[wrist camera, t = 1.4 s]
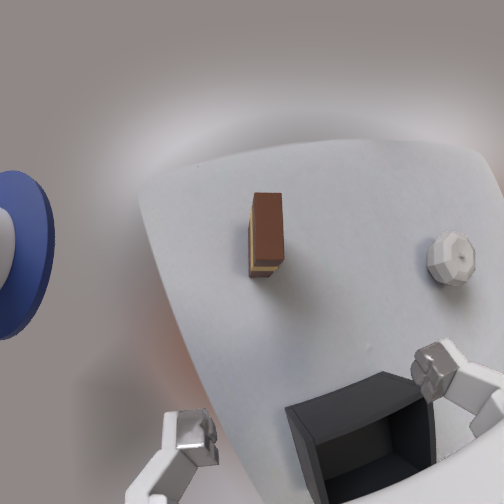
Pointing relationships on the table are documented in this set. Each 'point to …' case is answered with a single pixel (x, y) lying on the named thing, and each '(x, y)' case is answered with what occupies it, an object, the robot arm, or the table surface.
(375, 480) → the waste bin
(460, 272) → the apple
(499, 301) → the table surface
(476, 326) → the table surface
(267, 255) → the chocolate bar
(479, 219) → the table surface
